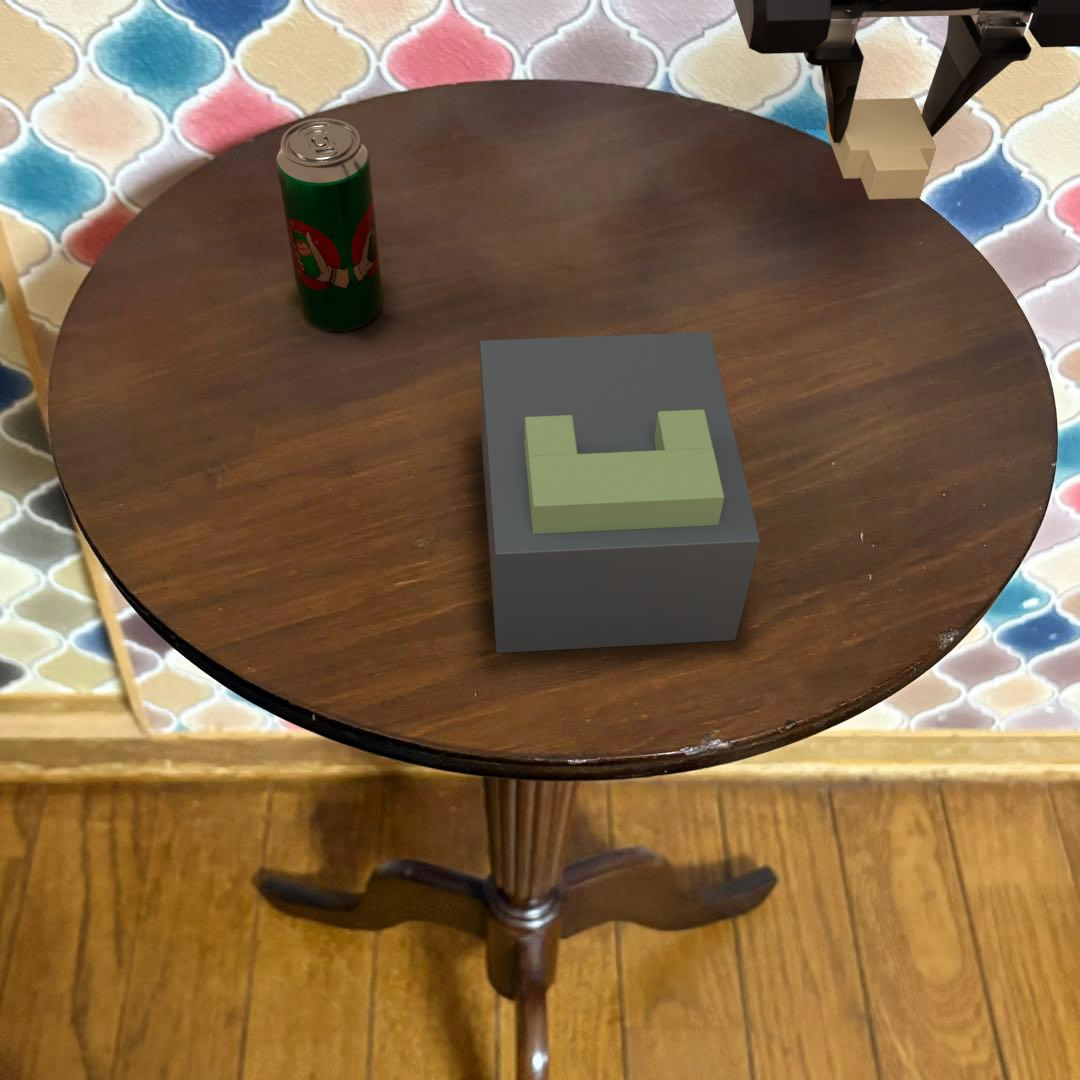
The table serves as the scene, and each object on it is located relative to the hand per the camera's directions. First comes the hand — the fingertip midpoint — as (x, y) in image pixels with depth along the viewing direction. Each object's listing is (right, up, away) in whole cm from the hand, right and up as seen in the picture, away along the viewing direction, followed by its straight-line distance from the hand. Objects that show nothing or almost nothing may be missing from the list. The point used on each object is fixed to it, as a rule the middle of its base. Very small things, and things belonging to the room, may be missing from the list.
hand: (880, 137), depth 75 cm
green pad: (-16, -21, -15) cm, 30 cm away
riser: (-17, -23, -7) cm, 30 cm away
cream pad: (0, -1, +1) cm, 1 cm away
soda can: (-32, -9, +4) cm, 34 cm away
